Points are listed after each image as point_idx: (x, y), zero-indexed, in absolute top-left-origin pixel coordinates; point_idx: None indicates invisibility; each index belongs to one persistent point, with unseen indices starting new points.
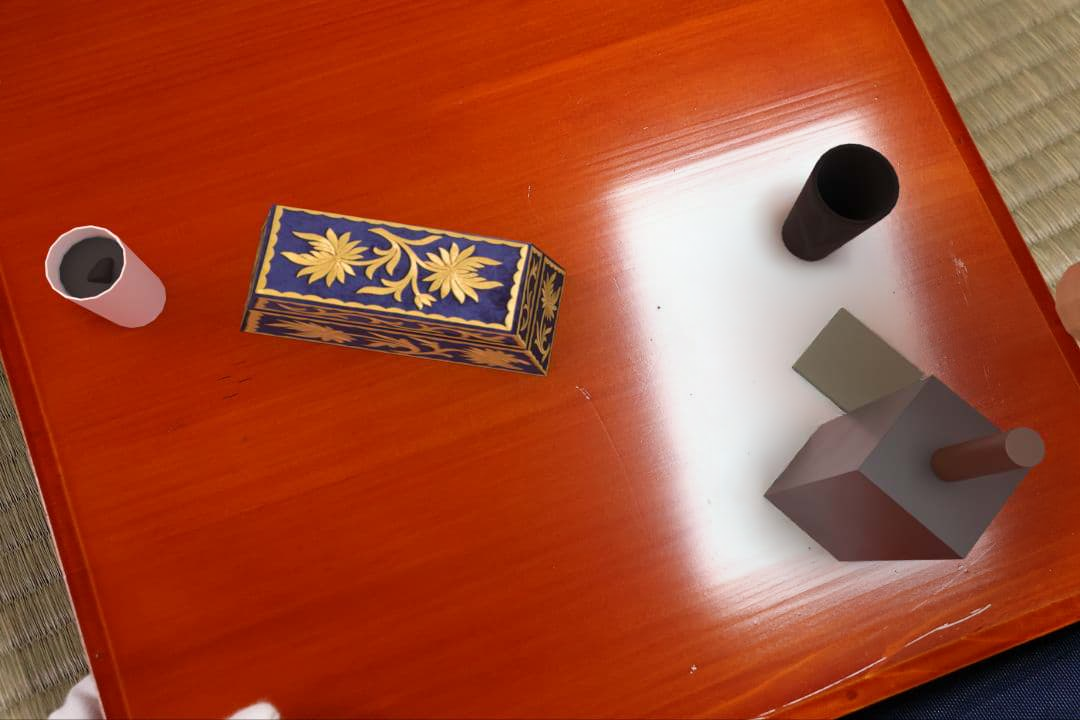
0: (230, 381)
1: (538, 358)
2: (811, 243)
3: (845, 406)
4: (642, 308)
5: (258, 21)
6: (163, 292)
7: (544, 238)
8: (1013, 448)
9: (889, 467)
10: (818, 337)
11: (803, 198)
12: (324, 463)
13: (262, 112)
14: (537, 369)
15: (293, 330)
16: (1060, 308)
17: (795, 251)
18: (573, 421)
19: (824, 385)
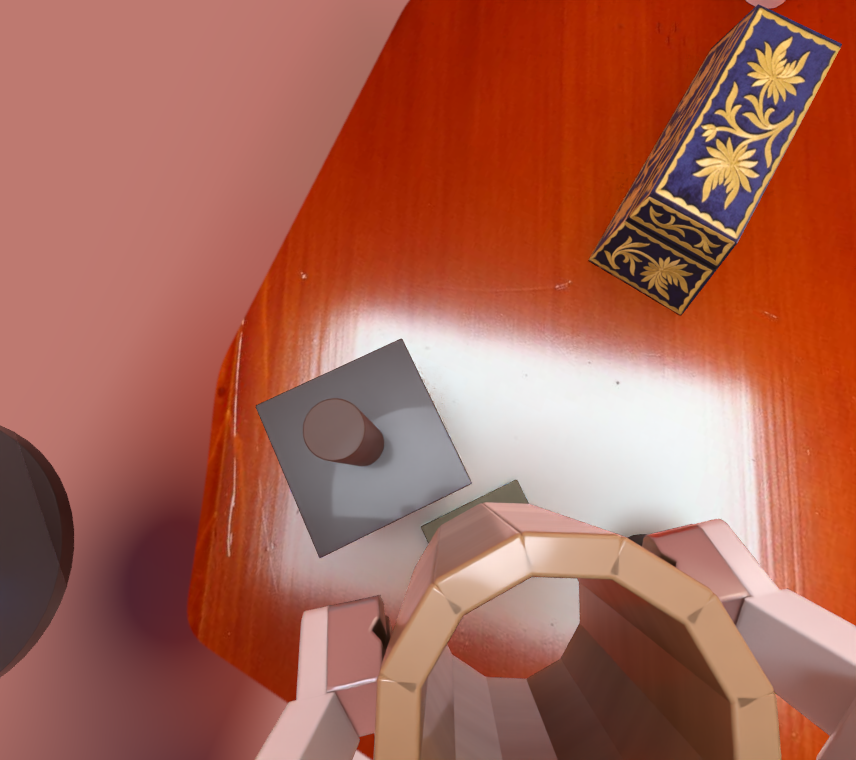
0: (671, 30)
1: (611, 243)
2: (640, 543)
3: (459, 510)
4: (622, 368)
5: None
6: (763, 3)
7: (719, 309)
8: (339, 411)
9: (388, 374)
10: None
11: None
12: (580, 72)
13: None
14: (599, 246)
15: (702, 71)
16: (530, 504)
17: (631, 538)
18: (541, 266)
19: (487, 500)
